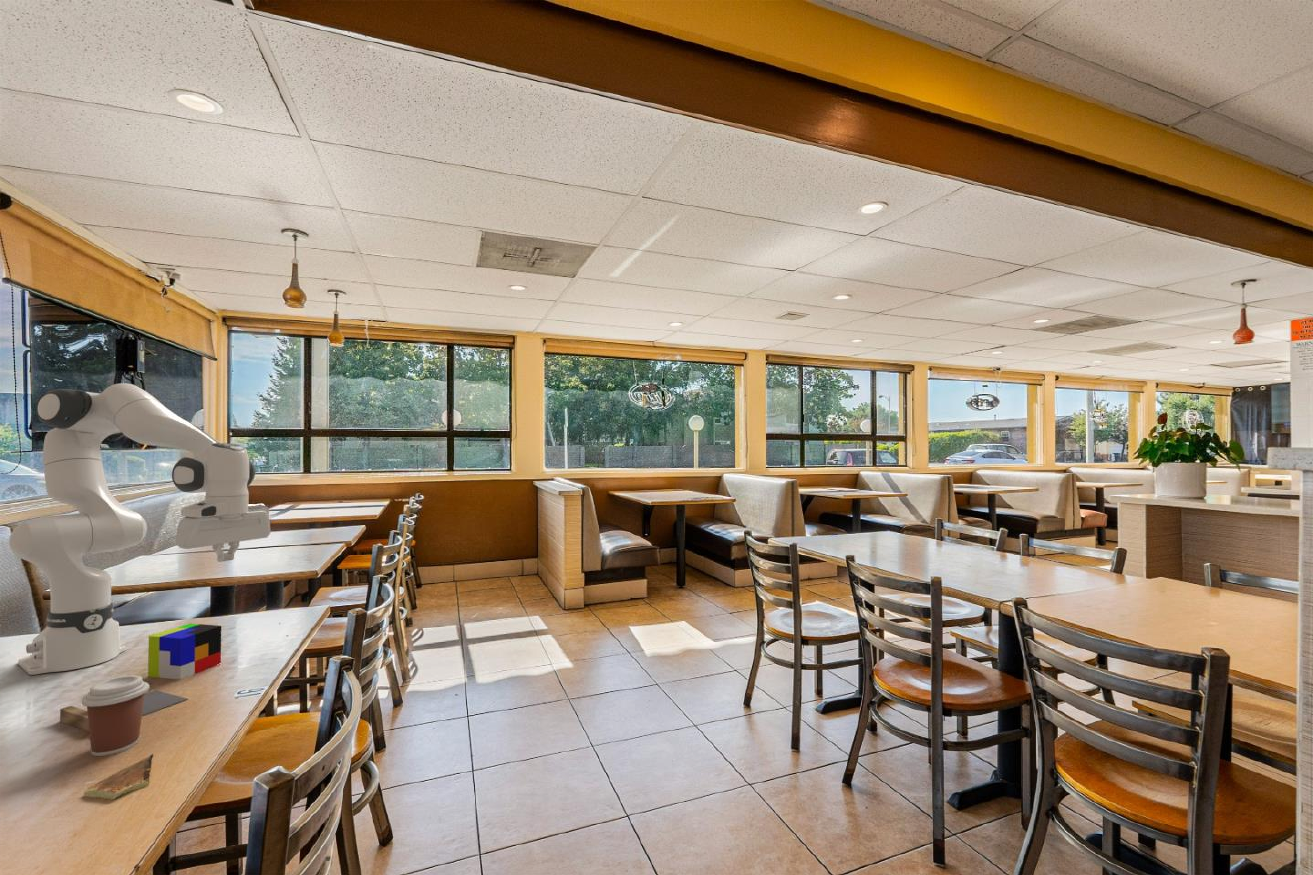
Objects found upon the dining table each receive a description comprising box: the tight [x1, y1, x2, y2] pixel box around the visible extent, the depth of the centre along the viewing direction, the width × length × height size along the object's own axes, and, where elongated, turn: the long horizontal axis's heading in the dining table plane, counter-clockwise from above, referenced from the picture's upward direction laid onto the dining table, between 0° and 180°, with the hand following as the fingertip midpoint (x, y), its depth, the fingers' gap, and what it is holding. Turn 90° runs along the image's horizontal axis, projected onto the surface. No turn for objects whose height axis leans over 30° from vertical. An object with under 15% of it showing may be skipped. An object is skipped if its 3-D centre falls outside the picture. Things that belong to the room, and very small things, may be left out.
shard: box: [83, 754, 154, 800], centre depth 94 cm, size 11×8×2 cm
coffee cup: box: [81, 674, 150, 757], centre depth 104 cm, size 9×9×12 cm
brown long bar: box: [59, 705, 89, 732], centre depth 112 cm, size 14×2×2 cm, turn 68°
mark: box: [142, 689, 189, 717], centre depth 120 cm, size 12×12×1 cm
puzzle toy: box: [147, 623, 222, 680], centre depth 140 cm, size 10×10×10 cm
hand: (225, 560), depth 141 cm, fingers closed
